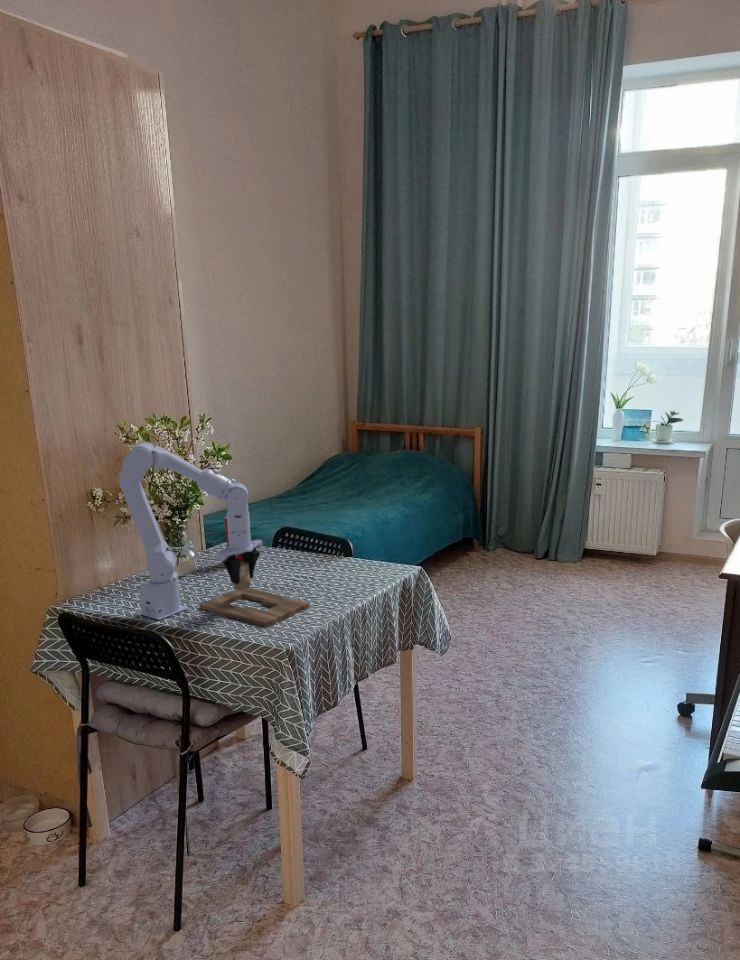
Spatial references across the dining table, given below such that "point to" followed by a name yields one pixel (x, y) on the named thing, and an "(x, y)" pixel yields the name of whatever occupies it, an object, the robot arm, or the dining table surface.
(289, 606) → the keyhole plate
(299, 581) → the dining table surface
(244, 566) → the birch peg
